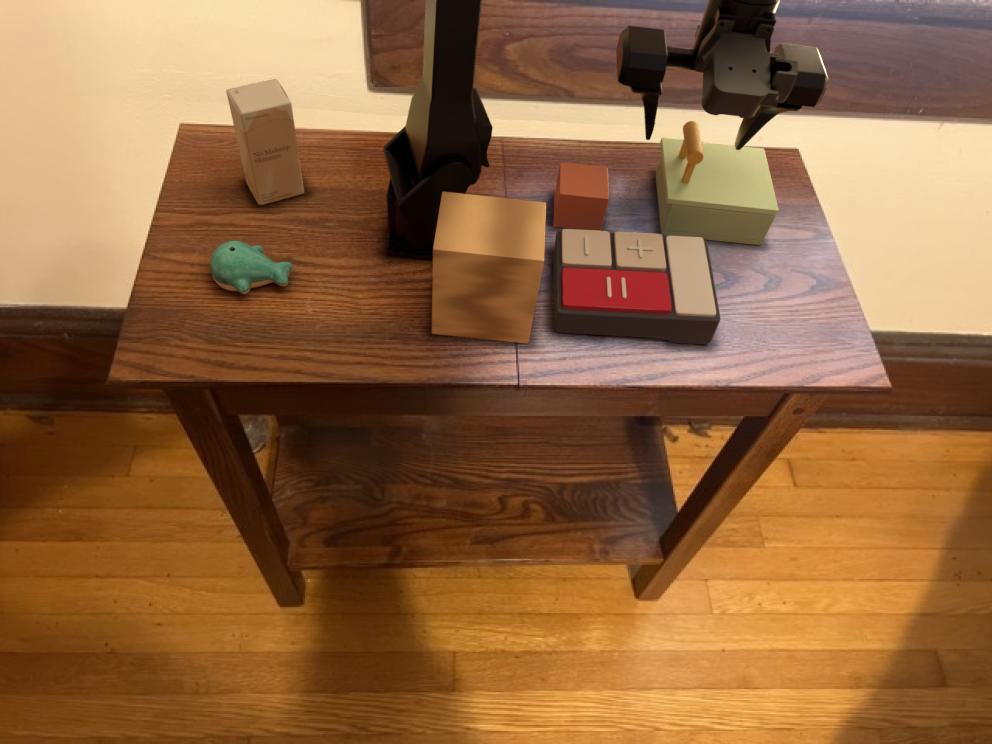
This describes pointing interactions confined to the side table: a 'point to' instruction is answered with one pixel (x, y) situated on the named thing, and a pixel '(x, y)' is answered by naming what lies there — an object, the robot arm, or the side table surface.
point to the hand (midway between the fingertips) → (692, 142)
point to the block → (581, 196)
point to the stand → (487, 266)
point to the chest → (710, 220)
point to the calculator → (634, 285)
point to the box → (266, 140)
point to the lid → (716, 175)
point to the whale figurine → (246, 267)
